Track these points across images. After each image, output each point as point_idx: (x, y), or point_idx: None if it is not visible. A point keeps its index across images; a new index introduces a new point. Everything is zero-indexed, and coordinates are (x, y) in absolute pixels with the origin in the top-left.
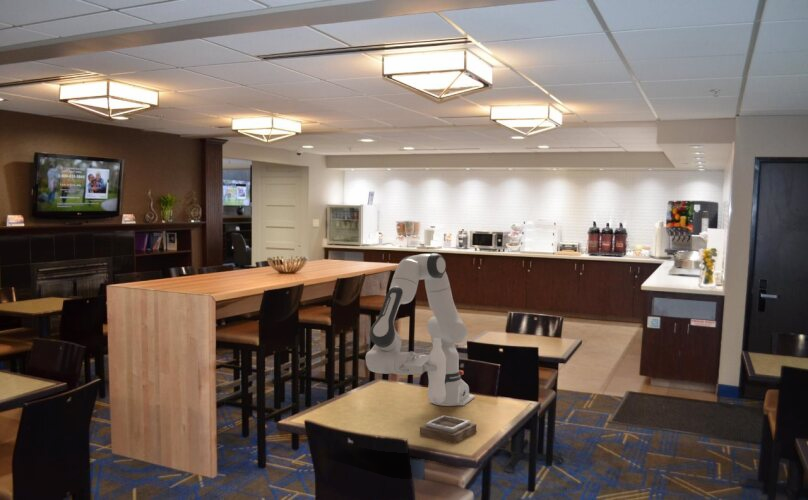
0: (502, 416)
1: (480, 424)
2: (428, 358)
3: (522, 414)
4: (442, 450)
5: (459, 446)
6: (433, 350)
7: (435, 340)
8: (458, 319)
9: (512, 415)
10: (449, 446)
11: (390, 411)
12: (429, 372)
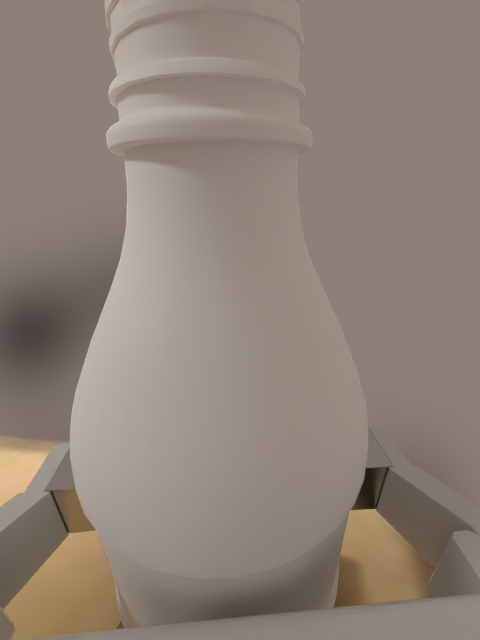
0: (6, 483)
1: (90, 532)
2: (335, 491)
3: (3, 438)
4: (428, 593)
5: (344, 539)
6: (310, 275)
7: (304, 12)
8: None
9: (5, 459)
10: (370, 578)
11: None
12: (329, 599)
